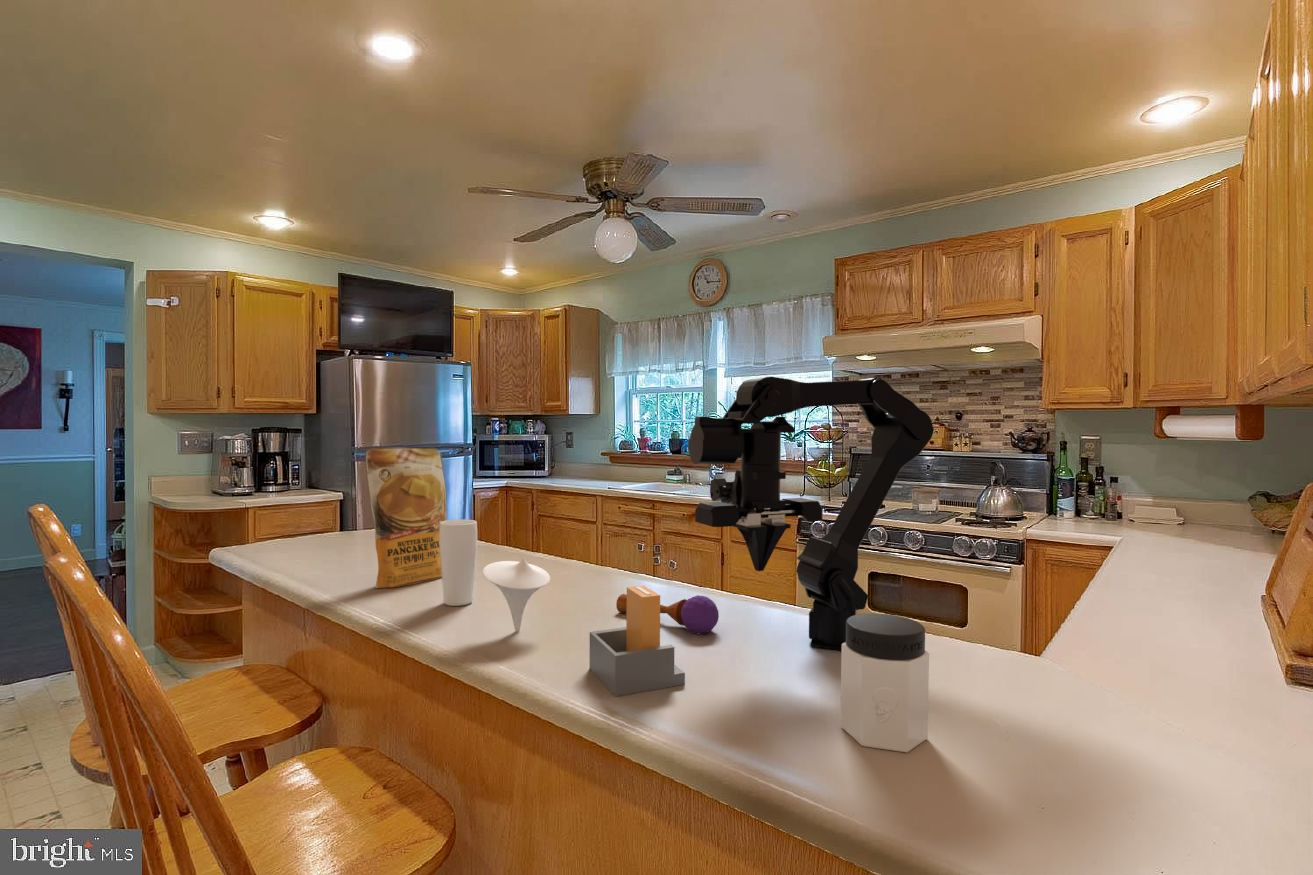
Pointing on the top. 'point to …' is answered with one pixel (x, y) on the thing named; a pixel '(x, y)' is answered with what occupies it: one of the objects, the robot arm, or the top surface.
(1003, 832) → the top surface
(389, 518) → the pancake mix bag
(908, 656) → the jar
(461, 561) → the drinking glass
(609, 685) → the base
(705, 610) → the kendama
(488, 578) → the white spinning top
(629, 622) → the breaker toggle
